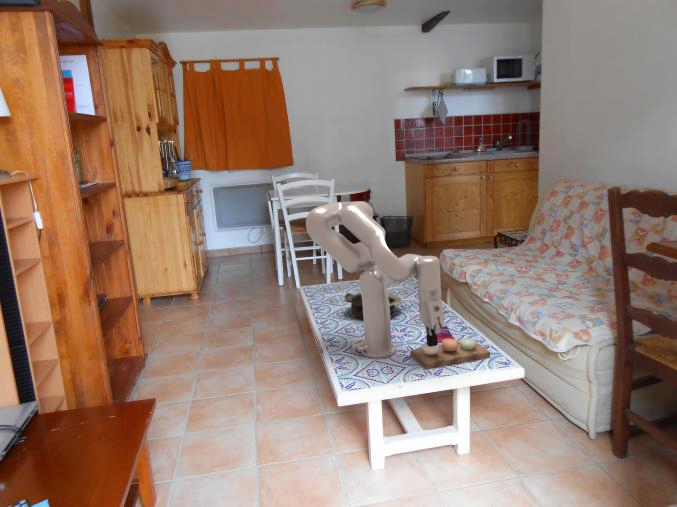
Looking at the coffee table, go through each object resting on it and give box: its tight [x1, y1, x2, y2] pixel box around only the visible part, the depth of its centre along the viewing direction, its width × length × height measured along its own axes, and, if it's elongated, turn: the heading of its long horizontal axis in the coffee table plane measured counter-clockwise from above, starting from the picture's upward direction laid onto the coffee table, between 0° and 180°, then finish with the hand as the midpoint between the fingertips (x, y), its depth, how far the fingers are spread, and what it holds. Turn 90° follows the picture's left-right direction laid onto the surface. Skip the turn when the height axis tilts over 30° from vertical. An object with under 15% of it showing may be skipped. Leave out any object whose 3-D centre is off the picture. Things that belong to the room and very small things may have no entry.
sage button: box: [459, 337, 476, 350], centre depth 175 cm, size 5×5×2 cm
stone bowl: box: [343, 292, 403, 319], centre depth 222 cm, size 25×25×9 cm
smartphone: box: [437, 325, 454, 344], centre depth 194 cm, size 8×1×15 cm
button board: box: [410, 341, 491, 371], centre depth 174 cm, size 24×12×2 cm, turn 105°
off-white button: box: [422, 342, 439, 355], centre depth 172 cm, size 5×5×2 cm
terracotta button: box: [441, 338, 458, 351], centre depth 173 cm, size 5×5×2 cm
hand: (432, 345), depth 171 cm, fingers closed
